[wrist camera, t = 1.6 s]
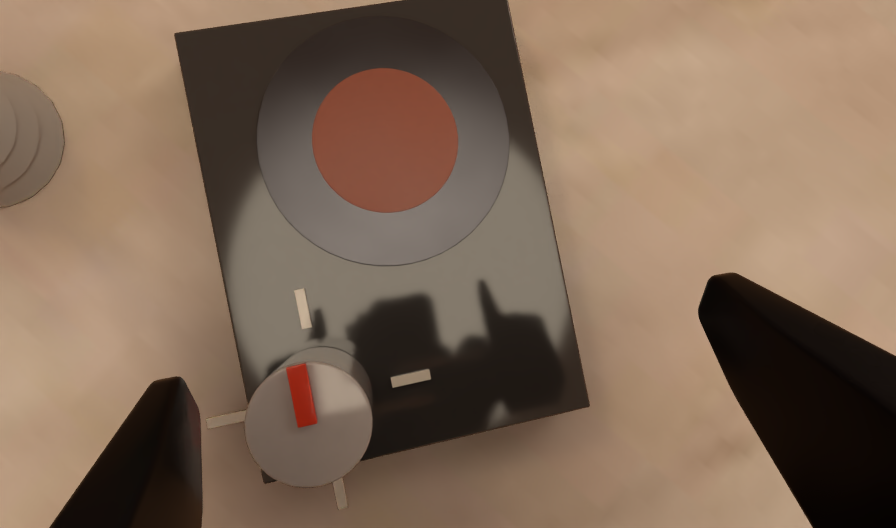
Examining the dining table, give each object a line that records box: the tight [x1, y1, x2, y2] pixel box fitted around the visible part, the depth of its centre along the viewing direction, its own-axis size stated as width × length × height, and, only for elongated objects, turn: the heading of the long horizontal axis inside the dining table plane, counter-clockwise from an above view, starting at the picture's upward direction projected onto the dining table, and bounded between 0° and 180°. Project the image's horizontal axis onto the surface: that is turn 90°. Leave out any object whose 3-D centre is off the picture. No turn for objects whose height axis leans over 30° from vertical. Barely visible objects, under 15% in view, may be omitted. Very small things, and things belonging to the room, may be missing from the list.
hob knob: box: [244, 347, 373, 488], centre depth 19 cm, size 4×4×4 cm
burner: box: [256, 16, 509, 266], centre depth 22 cm, size 9×9×1 cm
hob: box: [174, 0, 590, 510], centre depth 23 cm, size 17×13×2 cm
